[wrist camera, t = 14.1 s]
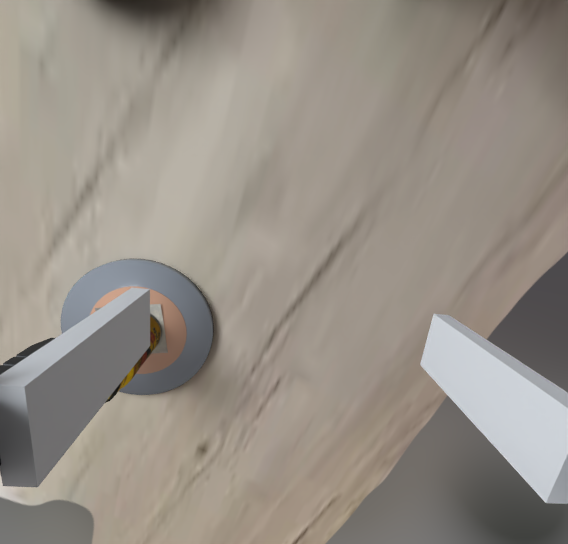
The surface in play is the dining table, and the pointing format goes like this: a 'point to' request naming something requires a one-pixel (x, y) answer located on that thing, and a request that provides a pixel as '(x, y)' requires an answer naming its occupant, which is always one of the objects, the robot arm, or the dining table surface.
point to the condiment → (156, 344)
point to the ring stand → (175, 310)
